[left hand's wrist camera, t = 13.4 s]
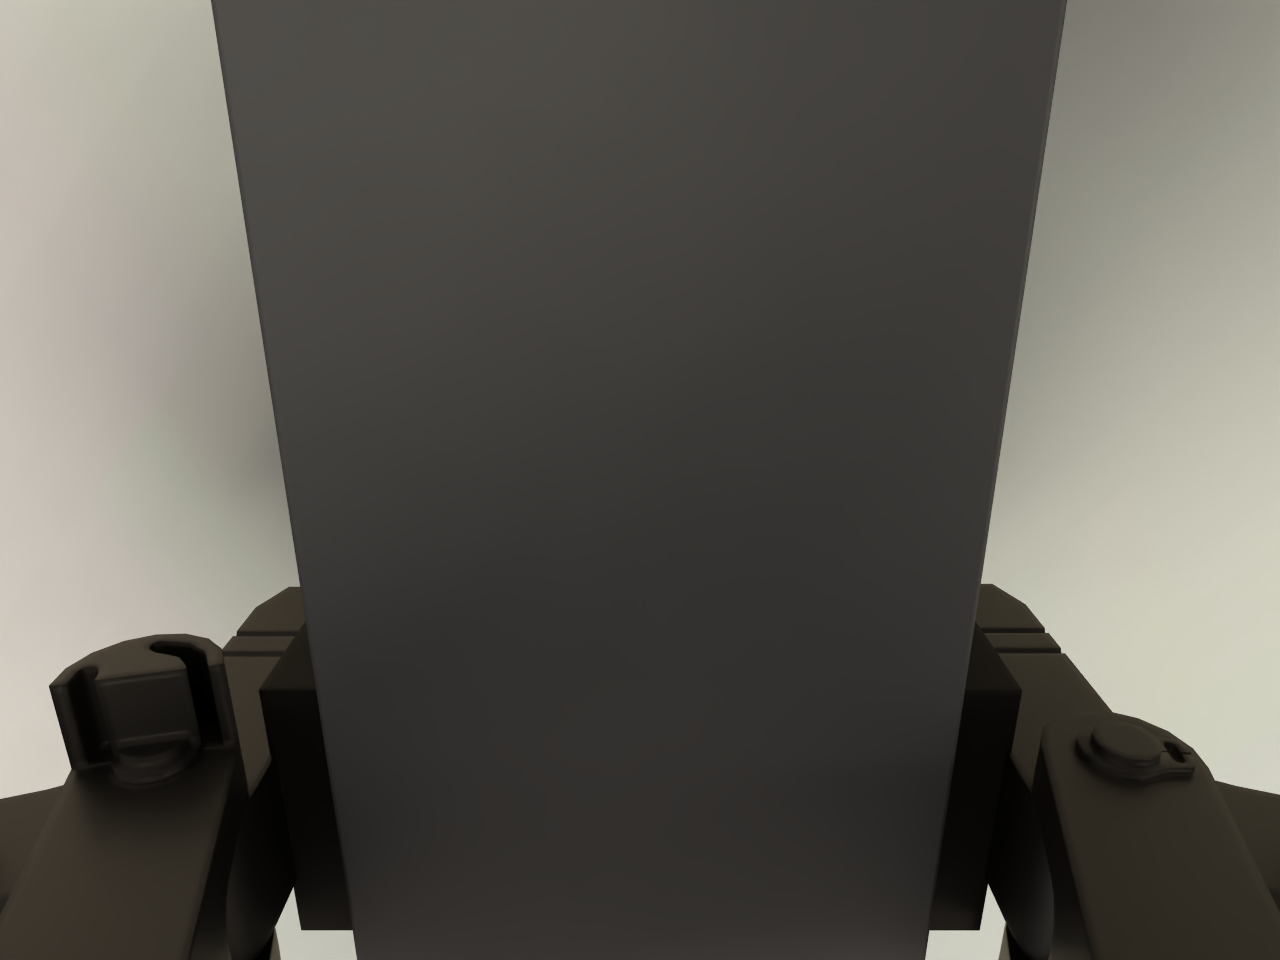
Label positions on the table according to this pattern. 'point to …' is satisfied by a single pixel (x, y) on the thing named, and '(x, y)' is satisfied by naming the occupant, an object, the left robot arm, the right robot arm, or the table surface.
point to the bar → (639, 447)
